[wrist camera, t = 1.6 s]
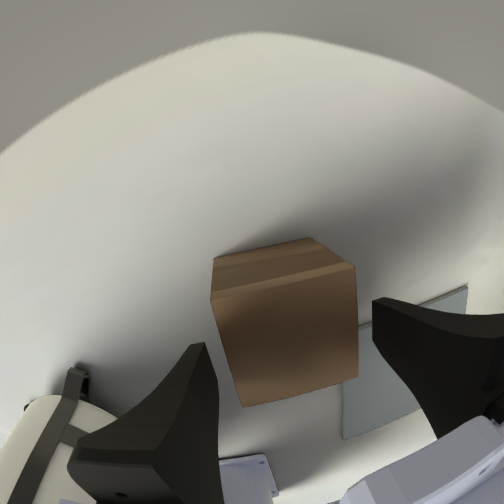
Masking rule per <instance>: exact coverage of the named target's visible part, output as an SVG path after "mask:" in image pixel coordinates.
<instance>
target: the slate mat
mask: <svg viewBox="0 0 504 504" xmlns="http://www.w3.org/2000/svg"><path fill="white" fill-rule="evenodd" d="M467 295H468V288H467V287H465V286H464V287H461V288H459V289H457V290H455V291H452V292H450V293H448V294H445V295H443V296H441V297H438V298H436V299H433V300H431V301H428V302H426V303H423V304H421V305H418V306H421V307H425V308H429V309H434V310H439V311H443V312H449V313H458V314H465V312H466V304H467ZM358 336H359V377H357V378H354V379H351V380H348V381H345V382H342V439H343V440H346V439H349V438H352V437H355V436H358V435H360V434H363V433H366V432H368V431H371V430H373V429H376V428H378V427H381V426H383V425H385V424H388V423H390V422H392V421H394V420H397V419H399V418H401V417H403V416H405V415H407V414H410V413H412V412H414V411H416V410H418V409H420V408H421V406H420V405H419V403H418V401H417V400H416V398H415V397H414V395H413V394H412V392H411V391H410V389H409V388H408V387H407V386H406V384H405V383H404V382H403V381H402V380H401V378H400V377H399V376H398V375H397V374H396V373H395V371H394V370H393V369H392V368H391V367H390V365H389V364H388V363H387V362H386V361H385V359H384V358H383V357H382V356H381V354H380V352H379V351H378V349H377V348H376V346H375V344H374V342H373V341H372V322H371V323H368V324H364V325H361V326H358Z"/></svg>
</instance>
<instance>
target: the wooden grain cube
mask: <svg viewBox="0 0 504 504" xmlns="http://www.w3.org/2000/svg"><path fill="white" fill-rule="evenodd" d="M210 302H211V305H212V309H213V313H214V316H215V320H216V323H217V327H218V330H219V334H220V337H221V341H222V344H223V348H224V351H225V354H226V358H227V361H228V364H229V367H230V371H231V374H232V377H233V380H234V383H235V387H236V390H237V393H238V396H239V399H240V402H241V405H242V408H244V407H249V406H254V405H259V404H264V403H268V402H273V401H277V400H281V399H285V398H289V397H293V396H297V395H301V394H305V393H308V392H312V391H315V390H319V389H322V388H326V387H329V386H332V385H335V384H339V383H342V382H345V381H348V380H351V379H354V378H357V377H359V336H358V307H357V289H356V275H355V267H354V266H353V265H351V264H350V263H348V262H347V261H345V260H344V259H342V258H341V257H339V256H338V255H336V254H335V253H333V252H332V251H330V250H329V249H327V248H326V247H324V246H323V245H321V244H320V243H318V242H317V241H315V240H313V239H312V238H305V239H300V240H296V241H291V242H286V243H282V244H277V245H273V246H268V247H263V248H259V249H254V250H249V251H245V252H240V253H236V254H231V255H226V256H222V257H217V258H214V262H213V273H212V284H211V297H210Z"/></svg>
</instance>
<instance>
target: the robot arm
mask: <svg viewBox="0 0 504 504" xmlns="http://www.w3.org/2000/svg"><path fill="white" fill-rule="evenodd" d="M372 341H373V342H374V344H375V346H376V348H377V349H378V351H379V352H380V354H381V356H382V357H383V358H384V359H385V361H386V362H387V363H388V364H389V365H390V367H391V368H392V369H393V370H394V371H395V373H396V374H397V375H398V376H399V377H400V378H401V380H402V381H403V382H404V383H405V384H406V386H407V387H408V388H409V389H410V391H411V392H412V394H413V395H414V397H415V398H416V400H417V401H418V403H419V405H420V406H421V408H422V410H423V412H424V413H425V415H426V417H427V419H428V421H429V423H430V424H431V427H432V429H433V431H434V433H435V435H436V437H437V439H438V440H436V441H435V442H433V443H431V444H429V445H428V446H426V447H424V448H422V449H420V450H418V451H416V452H414V453H412V454H410V455H408V456H406V457H404V458H402V459H400V460H398V461H396V462H394V463H391V464H389V465H387V466H385V467H383V468H381V469H379V470H377V471H375V472H373V473H371V474H369V475H367V476H365V477H364V478H362V479H361V480H360V481H358V482H357V483H356V484H354V485H353V486H351V487H350V488H349V489H348V490H347V492H346V493H345V494H344V496H343V497H342V499H341V500H338V501H335V502H331V503H328V504H504V313H503V314H492V315H468V314H458V313H449V312H443V311H439V310H434V309H429V308H425V307H421V306H417V305H414V304H410V303H407V302H403V301H399V300H395V299H391V298H386V297H383V298H380V299H377V300H373V301H372ZM218 420H219V391H218V381H217V377H216V374H215V371H214V369H213V366H212V363H211V360H210V357H209V354H208V351H207V348H206V345H205V342H202V343H197V344H191V345H190V346H189V347H188V348H187V350H186V351H185V352H184V354H183V355H182V357H181V358H180V359H179V361H178V362H177V363H176V365H175V366H174V367H173V369H172V370H171V371H170V373H169V374H168V375H167V376H166V377H165V378H164V380H163V381H162V382H161V383H160V384H159V385H158V386H157V387H156V389H155V390H154V391H153V392H152V393H150V394H149V395H148V396H147V397H146V398H145V399H144V400H143V401H142V402H140V403H139V404H138V405H137V406H135V407H134V408H133V409H131V410H130V411H129V412H127V413H126V414H125V415H123V416H121V417H120V418H118V419H117V420H115V421H113V422H112V423H110V424H108V425H106V426H104V427H102V428H100V429H98V430H96V431H94V432H92V433H89V434H87V435H85V436H82V437H80V438H78V439H77V442H76V444H75V446H74V449H73V451H72V453H71V456H70V458H69V461H68V463H67V471H68V473H69V475H70V477H71V478H72V479H73V480H74V481H75V483H76V484H77V485H79V486H80V487H81V488H82V489H83V490H84V491H85V492H86V493H87V494H89V495H90V496H91V497H92V498H93V499H94V500H96V501H97V502H96V504H273V499H272V498H273V497H277V496H279V492H278V490H277V487H276V484H275V481H274V478H273V475H272V472H271V469H270V466H269V464H268V461H267V458H266V455H264V454H258V455H252V456H247V457H240V458H234V459H226V460H219V457H218ZM59 504H82V503H77V502H73V501H69V500H65V499H60V501H59Z"/></svg>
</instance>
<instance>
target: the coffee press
mask: <svg viewBox="0 0 504 504" xmlns="http://www.w3.org/2000/svg"><path fill="white" fill-rule="evenodd" d="M89 384H90V375H89V373H88V371H84V370H80V369H76V368H73V367H71V368H70V369H69V370H68V373H67V377H66V381H65V386H64V391H63V394H62V396H60V395H48V396H42V397H39V398H37V399H35V400H34V401H33V402H31V404H27V405H26V406H25V407H24V413H23V414H22V416H21V417H20V419H19V420H18V422H17V423H16V425H15V426H14V428H13V429H12V431H11V433H10V434H9V436H8V437H7V439H6V441H5V442H4V444H3V446H2V447H1V449H0V504H59V501H60V499H65V500H69V501H73V502H77V503H82V504H96V502H97V501H96V500H94V499H93V498H92V497H91V496H90V495H89V494H87V493H86V492H85V491H84V490H83V489H82V488H81V487H80V486H79V485H77V484H76V483H75V481H74V480H73V479H72V478H71V477H70V475H69V473H68V471H67V463H68V461H69V458H70V456H71V453H72V451H73V449H74V446H75V444H76V442H77V439H78V438H80V437H82V436H85V435H87V434H89V433H92V432H94V431H96V430H98V429H100V428H102V427H104V426H106V425H108V424H110V423H112V422H113V421H115V420H117V419H118V418H116V417H115V416H113V415H111V414H110V413H108V412H106V411H104V410H102V409H101V408H98V407H96V406H94V405H92V404H90V403H89V401H88V393H89Z"/></svg>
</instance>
